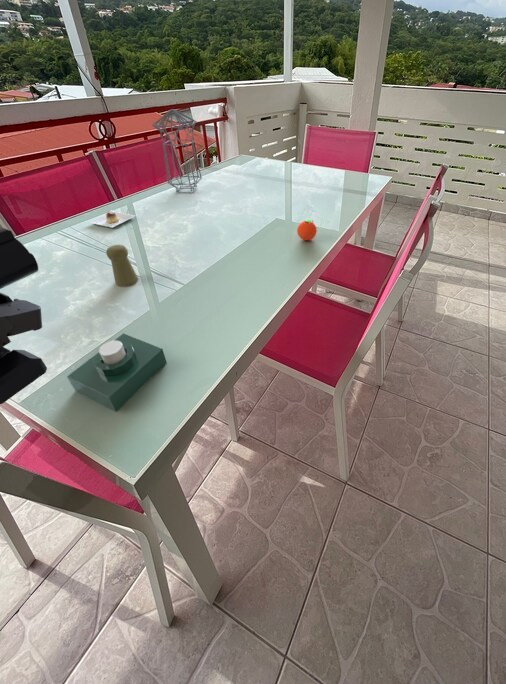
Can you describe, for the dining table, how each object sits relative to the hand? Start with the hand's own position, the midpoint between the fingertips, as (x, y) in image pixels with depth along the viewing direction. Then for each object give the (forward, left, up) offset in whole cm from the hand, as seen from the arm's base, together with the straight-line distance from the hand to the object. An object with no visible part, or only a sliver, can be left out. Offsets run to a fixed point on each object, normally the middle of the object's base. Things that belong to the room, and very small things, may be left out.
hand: (7, 397), depth 47 cm
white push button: (+14, +8, -7) cm, 18 cm away
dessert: (+31, +91, -13) cm, 97 cm away
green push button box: (+14, +8, -13) cm, 21 cm away
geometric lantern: (+69, +110, -13) cm, 131 cm away
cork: (+24, +44, -13) cm, 52 cm away
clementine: (+83, +34, -13) cm, 91 cm away
